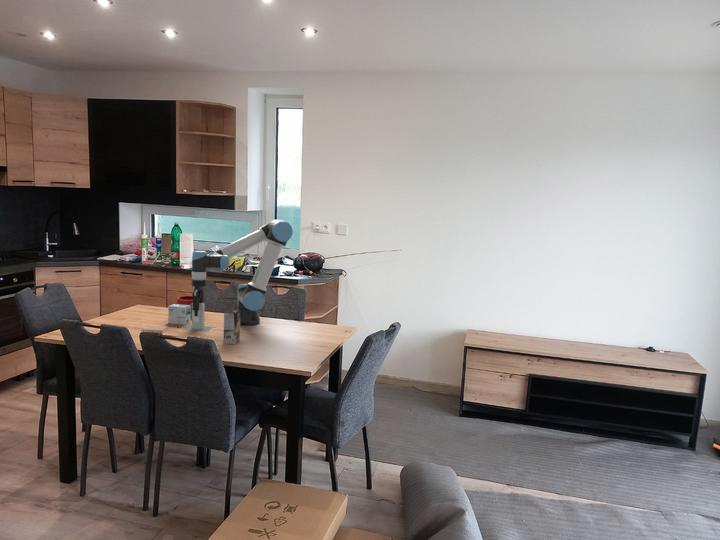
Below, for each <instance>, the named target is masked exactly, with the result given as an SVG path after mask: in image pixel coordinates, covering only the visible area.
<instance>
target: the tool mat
mask: <svg viewBox="0 0 720 540" xmlns="http://www.w3.org/2000/svg"><path fill="white" fill-rule="evenodd" d="M191 328H192V324H191V325H190V324H189V325H187V326H186V327H184V328H183V329H182V331H187V332H192V331H193V332H205V333H207V332H209V331H210V330H212V329H213V328H214V326H207V325H204V329H191Z"/></svg>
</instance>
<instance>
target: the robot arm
mask: <svg viewBox="0 0 720 540" xmlns="http://www.w3.org/2000/svg"><path fill="white" fill-rule="evenodd" d="M293 233H294V230H293V226H292V225H291V223H289V222H287V221H286V220H283V219H273V220H270V221H268V222H267V223H265V224H263V225H262V226H260V227H259V228H258V230H256V231H254V232H252V233H250V234H247V235H246V236H243V237H241V238H240V239H237V240H235V241H234V242H231V243H230V244H227V245H226V246H223V247H221V248H220V249H217V250H216V251H211V252H210V253H207V251H205V250H194V251H193V252H192V254H191V255H192V256H191V273H190V274H191V287H194V290H193V291H192V296H193V309H192V310H194V322H199V303H205V287H206V286H207V269H222V270H223V269H228V268H229V266H230V260H231V259H232V258H233V257H234V258H235V257H236V256H238V255H241V254H243V253H244V252H247V251H249V250H250V249H253V248H254V247H256V246H259V245H260V244H262V243H265V242H266V245H265V248H264V250H263V254H262V256H261V258H260V261H259V262H258V265H257V267H256V270H255V273H254V275H253V278H252V279H251V281H250V282H248V283H245V284H243V283H242V284H241V283H239V284H238V286H237V309H236V310H241V314H240V325H241V324H246V325H245V326H250V325H249V324H254V325H258V324H260V323H259V322H261V318H260V314H259V312H258V311H259V310H260V309H262V308H263V307H264V305H265V302H266V295H267V293H268V290H267V285H268V283H269V280H270V278H271V276H272V273H273V270H274V269H275V267H276V266H275V265H276V264H277V263H276V262H277V261H278V259H279V255H280V253H281V250H282V249H283V248H286V245H287V243H288V241H289V240H291V238H292V236H293ZM257 323H258V324H257Z"/></svg>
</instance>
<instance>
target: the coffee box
mask: <svg viewBox="0 0 720 540" xmlns="http://www.w3.org/2000/svg"><path fill="white" fill-rule="evenodd" d="M240 314H241V310H237V309H227V310H226V311H225V312H223V339H222V340H223V344H227V345H236V344H237V343H239V341H240V337H241V335H240V334H241V324H240Z"/></svg>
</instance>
